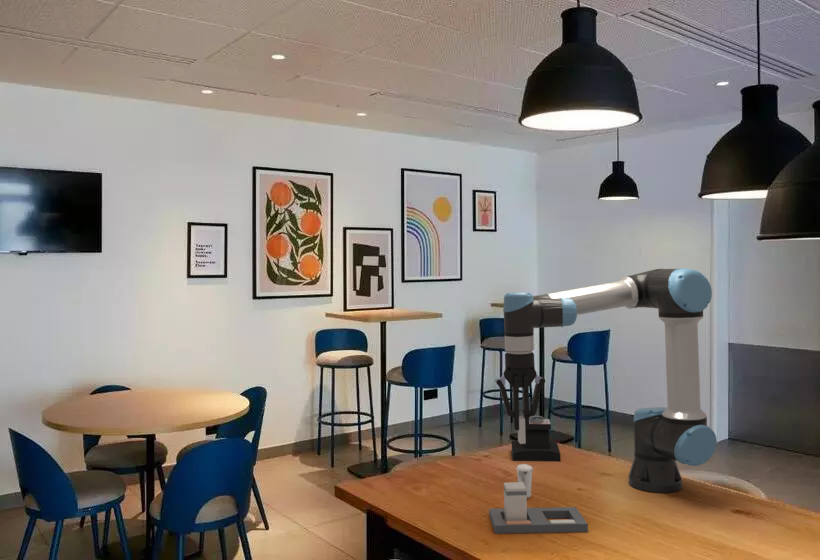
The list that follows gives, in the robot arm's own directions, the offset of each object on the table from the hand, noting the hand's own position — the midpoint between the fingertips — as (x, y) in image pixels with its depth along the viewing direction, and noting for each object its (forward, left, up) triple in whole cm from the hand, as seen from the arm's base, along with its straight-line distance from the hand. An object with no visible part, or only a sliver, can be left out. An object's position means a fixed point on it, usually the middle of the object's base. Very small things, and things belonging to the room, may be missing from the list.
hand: (521, 442), depth 178 cm
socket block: (-3, +3, -20) cm, 21 cm away
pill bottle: (-4, -18, -21) cm, 28 cm away
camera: (-15, -61, -21) cm, 66 cm away
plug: (+2, +3, -20) cm, 21 cm away
